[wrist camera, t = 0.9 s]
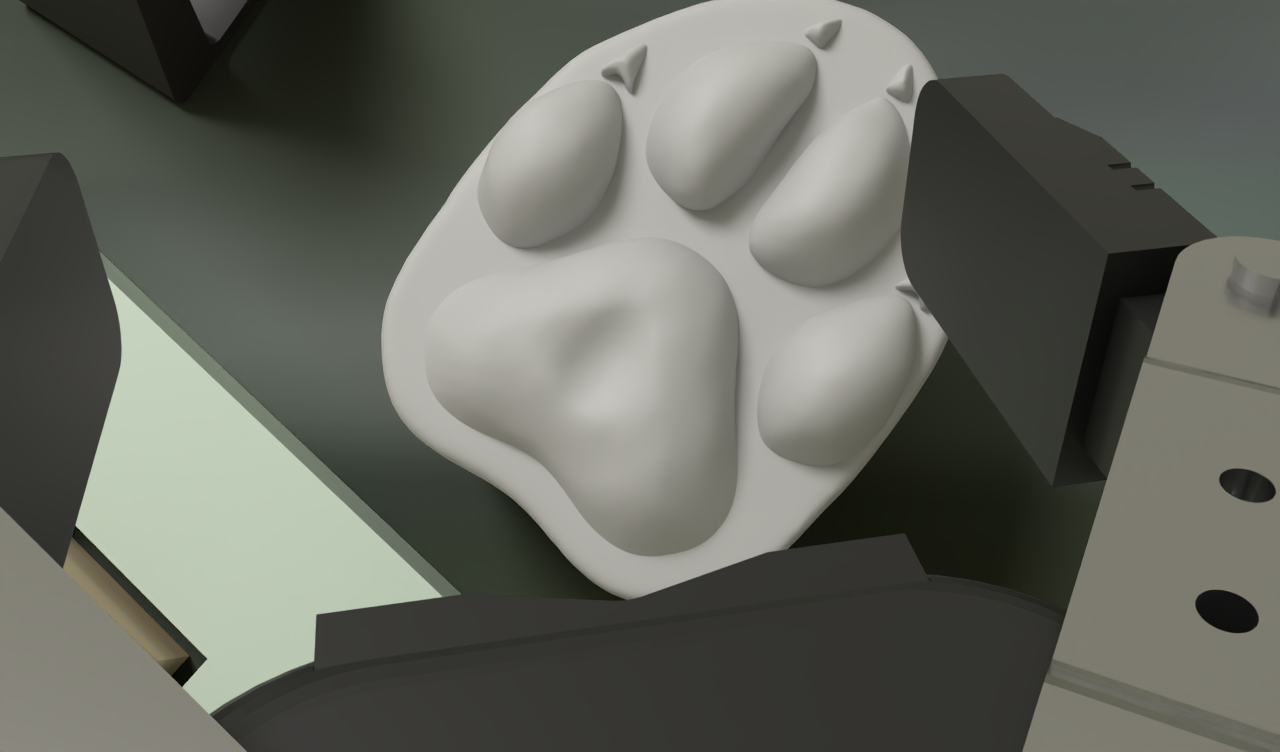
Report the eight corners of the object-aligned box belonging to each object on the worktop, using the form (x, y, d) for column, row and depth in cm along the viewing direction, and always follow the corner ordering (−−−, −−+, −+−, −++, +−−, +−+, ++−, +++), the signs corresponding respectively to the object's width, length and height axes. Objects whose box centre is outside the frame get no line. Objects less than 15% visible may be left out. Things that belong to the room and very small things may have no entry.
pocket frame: (68, 221, 34) (26, 201, 32) (508, 639, 31) (492, 644, 29) (-364, 683, 33) (-435, 691, 31) (49, 1158, 30) (0, 1199, 28)
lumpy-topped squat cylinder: (406, 399, 33) (283, 339, 24) (708, 26, 33) (693, -158, 25) (713, 650, 31) (699, 682, 22) (1024, 252, 32) (1124, 135, 23)
